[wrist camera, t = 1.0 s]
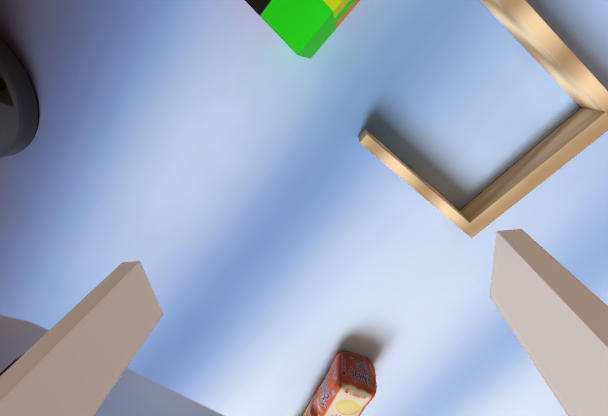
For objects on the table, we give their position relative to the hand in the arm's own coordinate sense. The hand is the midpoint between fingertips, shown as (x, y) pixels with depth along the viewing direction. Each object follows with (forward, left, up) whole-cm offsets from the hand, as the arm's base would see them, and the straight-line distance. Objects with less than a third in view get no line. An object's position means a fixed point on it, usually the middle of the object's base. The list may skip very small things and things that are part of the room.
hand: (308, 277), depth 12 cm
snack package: (+26, -31, -24) cm, 47 cm away
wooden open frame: (+9, +10, -23) cm, 27 cm away
